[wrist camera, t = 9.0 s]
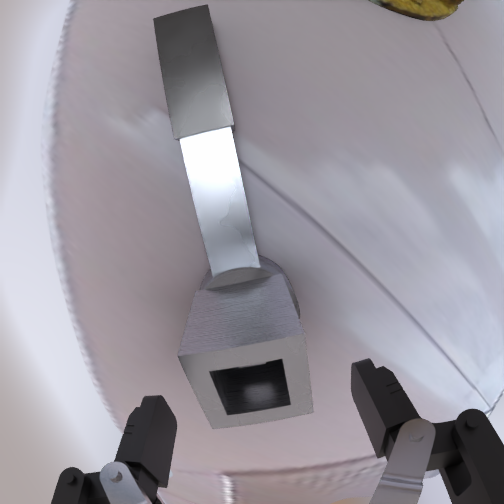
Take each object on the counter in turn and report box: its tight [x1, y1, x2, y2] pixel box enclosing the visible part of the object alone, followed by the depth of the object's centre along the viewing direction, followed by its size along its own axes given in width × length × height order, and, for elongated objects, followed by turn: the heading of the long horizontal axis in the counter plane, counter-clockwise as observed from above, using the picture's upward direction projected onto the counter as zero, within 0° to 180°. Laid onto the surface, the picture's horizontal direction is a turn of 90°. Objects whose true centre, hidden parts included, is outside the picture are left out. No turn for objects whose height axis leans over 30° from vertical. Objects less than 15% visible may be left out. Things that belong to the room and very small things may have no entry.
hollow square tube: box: [178, 274, 314, 429], centre depth 14 cm, size 5×5×6 cm
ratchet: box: [153, 4, 300, 368], centre depth 14 cm, size 22×6×6 cm, turn 11°
